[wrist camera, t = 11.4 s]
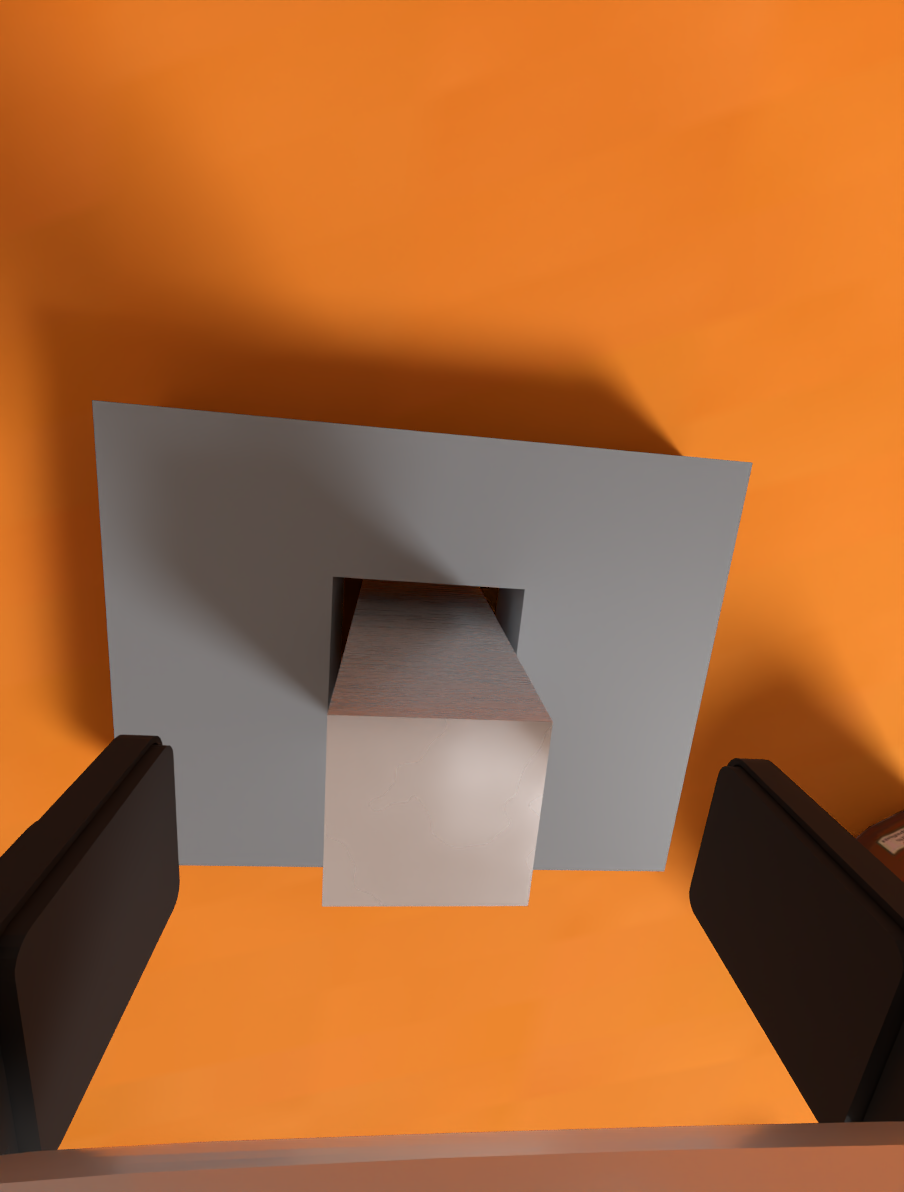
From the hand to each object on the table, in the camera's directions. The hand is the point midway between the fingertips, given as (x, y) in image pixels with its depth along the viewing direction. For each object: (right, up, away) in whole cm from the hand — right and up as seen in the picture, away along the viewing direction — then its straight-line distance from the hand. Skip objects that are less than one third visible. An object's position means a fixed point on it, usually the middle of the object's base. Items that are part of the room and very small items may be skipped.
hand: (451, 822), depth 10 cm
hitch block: (-1, +3, +11) cm, 12 cm away
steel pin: (-1, +3, +11) cm, 12 cm away
